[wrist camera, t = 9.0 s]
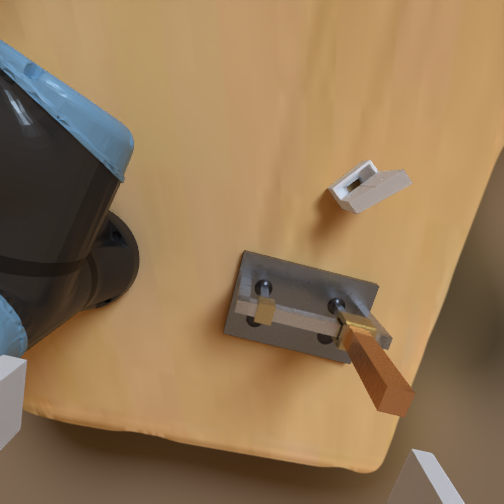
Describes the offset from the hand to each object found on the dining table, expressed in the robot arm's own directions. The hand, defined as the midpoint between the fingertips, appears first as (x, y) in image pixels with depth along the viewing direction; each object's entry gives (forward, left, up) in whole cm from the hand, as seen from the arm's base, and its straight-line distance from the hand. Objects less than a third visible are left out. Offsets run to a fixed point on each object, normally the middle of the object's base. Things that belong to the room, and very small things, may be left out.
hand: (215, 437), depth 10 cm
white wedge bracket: (+12, +11, -35) cm, 38 cm away
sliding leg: (+15, -6, -33) cm, 37 cm away
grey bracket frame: (+10, -6, -33) cm, 35 cm away
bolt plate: (+10, -8, -35) cm, 37 cm away
